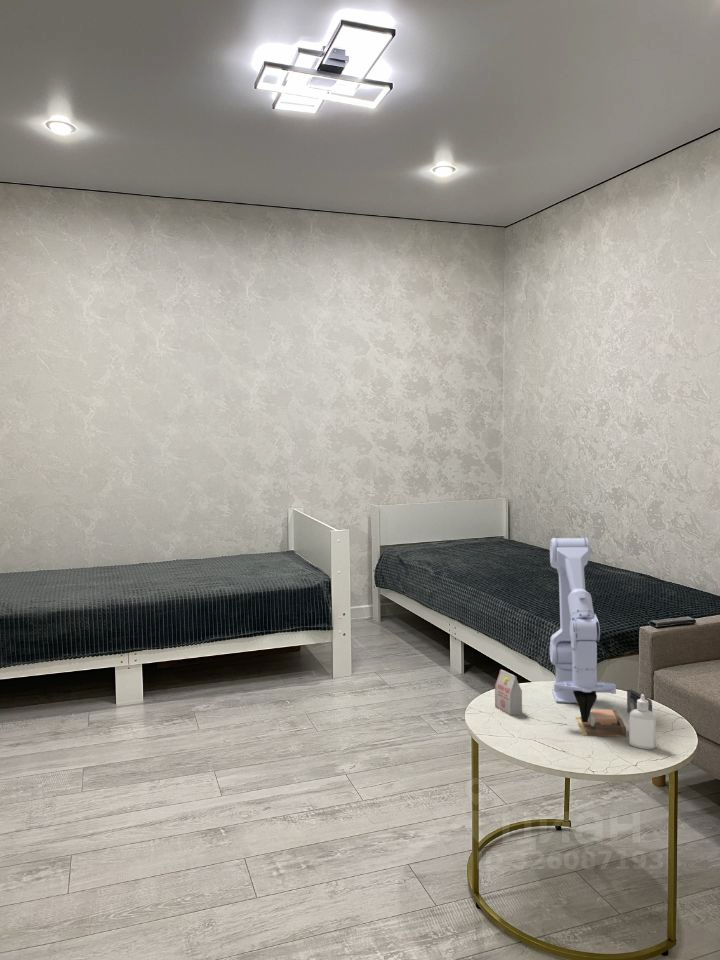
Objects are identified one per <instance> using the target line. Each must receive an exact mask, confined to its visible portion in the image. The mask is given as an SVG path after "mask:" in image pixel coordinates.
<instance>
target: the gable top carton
mask: <svg viewBox="0 0 720 960" xmlns="http://www.w3.org/2000/svg"><path fill="white" fill-rule="evenodd" d="M494 708H496V709H498V710H499V709H500V710H499V711H501V712H503V713H505V714H506V715H508V716H516V715H521V714H523V690H522V688H521V686H520V683H519V681H518V679H517V675H514V674H512V673H509V672H508V671H506V670H503V669H499V673H498V676H497V679H496V682H495V684H494Z"/></svg>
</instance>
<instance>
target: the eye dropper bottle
mask: <svg viewBox="0 0 720 960" xmlns="http://www.w3.org/2000/svg"><path fill="white" fill-rule="evenodd" d="M640 695H641V698H640V699H638V700H637V709H634V710H632V711H631V712H630V714H629V719H628V720H629V722H628V723H629V724H628V725H629V727H628V729H629V730H628V731H629V733H628V734H629V736H628V739H629V740H628V742H629V745H630V746H632V747H635V748H639V749H643V750H654V749H656V746H657V745H656V744H657V743H656V741H657V737H656V736H657V718H656V714H655V713H654V712H653V711H652V712H651V711H649V710H648V701H647V700H646V699H645V697H646V695H645V694H643V693H642V694H641V693H640Z"/></svg>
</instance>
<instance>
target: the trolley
mask: <svg viewBox="0 0 720 960" xmlns="http://www.w3.org/2000/svg"><path fill="white" fill-rule="evenodd" d="M612 710H613V709H595V708H594V709H593V708H591V711H590V714H589V718H588V720H589V722H590V724H591V726H593V728H594V729H595V725H618V726H619V724H618V722H617V718H616V716H615V714H614V712H613V711H612Z"/></svg>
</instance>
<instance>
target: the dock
mask: <svg viewBox="0 0 720 960" xmlns="http://www.w3.org/2000/svg"><path fill="white" fill-rule="evenodd" d="M611 710H612V711H613V712H614V714H615V716H616V718H617V722H618V724H619V726H618V725H595V729H594V728H593V726H591V724H590V722H589V720H588V722H582V720H581V716H579V717H578V716H575V719H576V721H577V725H578V727H579V729H580V732H581V734H582V736H592V737H593V736H596V737H599V736H600V737H601V736H602V737H623V738H624V737H625V738H626V737H627V726H626V724H625V723H624V721H623V719H622V717H621V715H620V714H619V712H618V710H616V709H611Z"/></svg>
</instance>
